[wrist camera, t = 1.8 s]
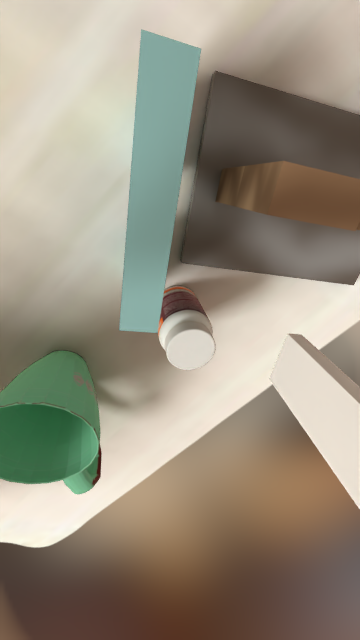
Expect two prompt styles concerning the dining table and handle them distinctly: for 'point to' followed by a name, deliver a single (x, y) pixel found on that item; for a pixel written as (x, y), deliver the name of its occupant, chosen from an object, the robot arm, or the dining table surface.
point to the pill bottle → (185, 329)
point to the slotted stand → (275, 185)
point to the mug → (51, 424)
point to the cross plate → (155, 174)
